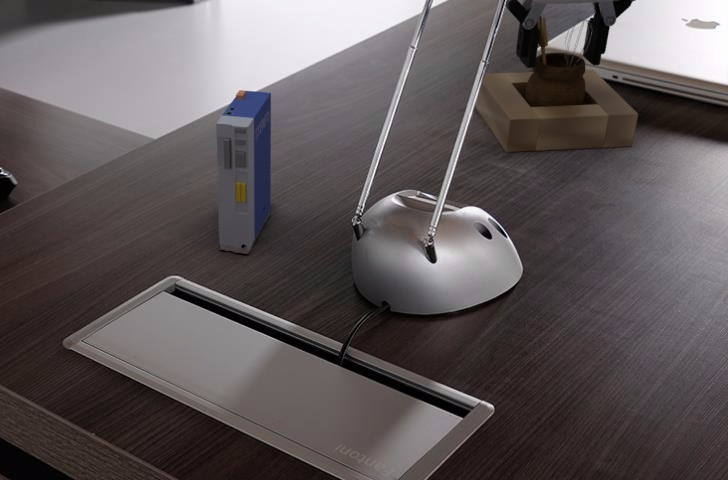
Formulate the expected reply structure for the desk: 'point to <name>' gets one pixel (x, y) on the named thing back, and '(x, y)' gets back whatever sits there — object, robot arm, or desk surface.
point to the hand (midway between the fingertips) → (559, 60)
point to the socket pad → (555, 116)
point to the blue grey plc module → (244, 168)
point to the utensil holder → (556, 75)
